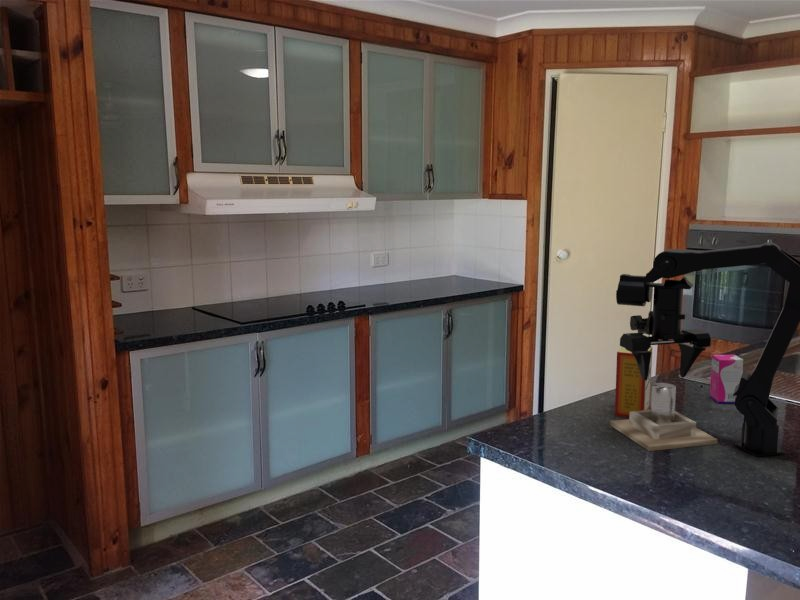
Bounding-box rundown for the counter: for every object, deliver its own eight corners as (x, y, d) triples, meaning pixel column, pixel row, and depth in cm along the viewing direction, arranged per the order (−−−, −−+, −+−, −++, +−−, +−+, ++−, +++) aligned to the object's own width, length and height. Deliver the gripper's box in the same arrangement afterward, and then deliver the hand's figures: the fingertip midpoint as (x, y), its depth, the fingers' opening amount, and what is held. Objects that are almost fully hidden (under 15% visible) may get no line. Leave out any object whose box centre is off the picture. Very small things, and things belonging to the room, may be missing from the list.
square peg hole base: (717, 443, 140) (718, 425, 140) (649, 451, 137) (649, 432, 137) (672, 419, 156) (672, 402, 155) (609, 425, 153) (610, 408, 152)
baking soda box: (622, 404, 167) (624, 342, 165) (649, 407, 164) (652, 344, 162) (614, 415, 159) (617, 350, 157) (643, 419, 156) (646, 353, 153)
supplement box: (732, 396, 171) (735, 353, 169) (741, 404, 165) (744, 359, 164) (708, 396, 172) (711, 353, 170) (717, 403, 166) (720, 359, 164)
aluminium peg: (678, 432, 144) (680, 388, 143) (657, 434, 144) (659, 390, 142) (665, 424, 149) (667, 382, 148) (645, 426, 148) (646, 383, 147)
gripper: (683, 300, 152) (679, 366, 154) (608, 304, 148) (605, 371, 150) (715, 308, 141) (710, 379, 143) (635, 313, 137) (632, 385, 140)
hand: (663, 378), depth 145 cm, fingers open, 9 cm apart
